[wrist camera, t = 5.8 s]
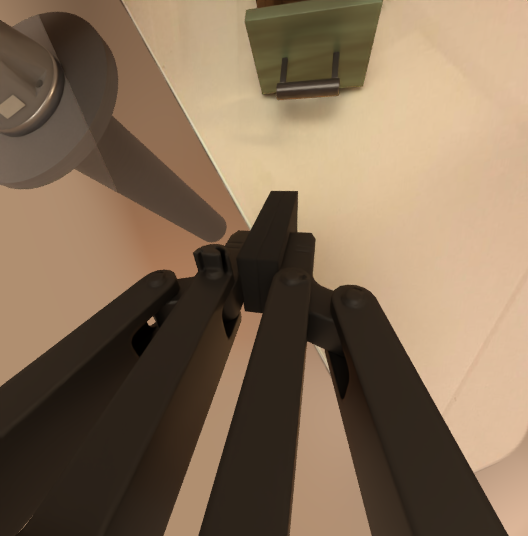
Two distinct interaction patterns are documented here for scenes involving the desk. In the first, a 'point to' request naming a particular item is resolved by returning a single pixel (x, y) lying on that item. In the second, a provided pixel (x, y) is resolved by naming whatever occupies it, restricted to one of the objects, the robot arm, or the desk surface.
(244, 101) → the desk surface
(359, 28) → the drawer
